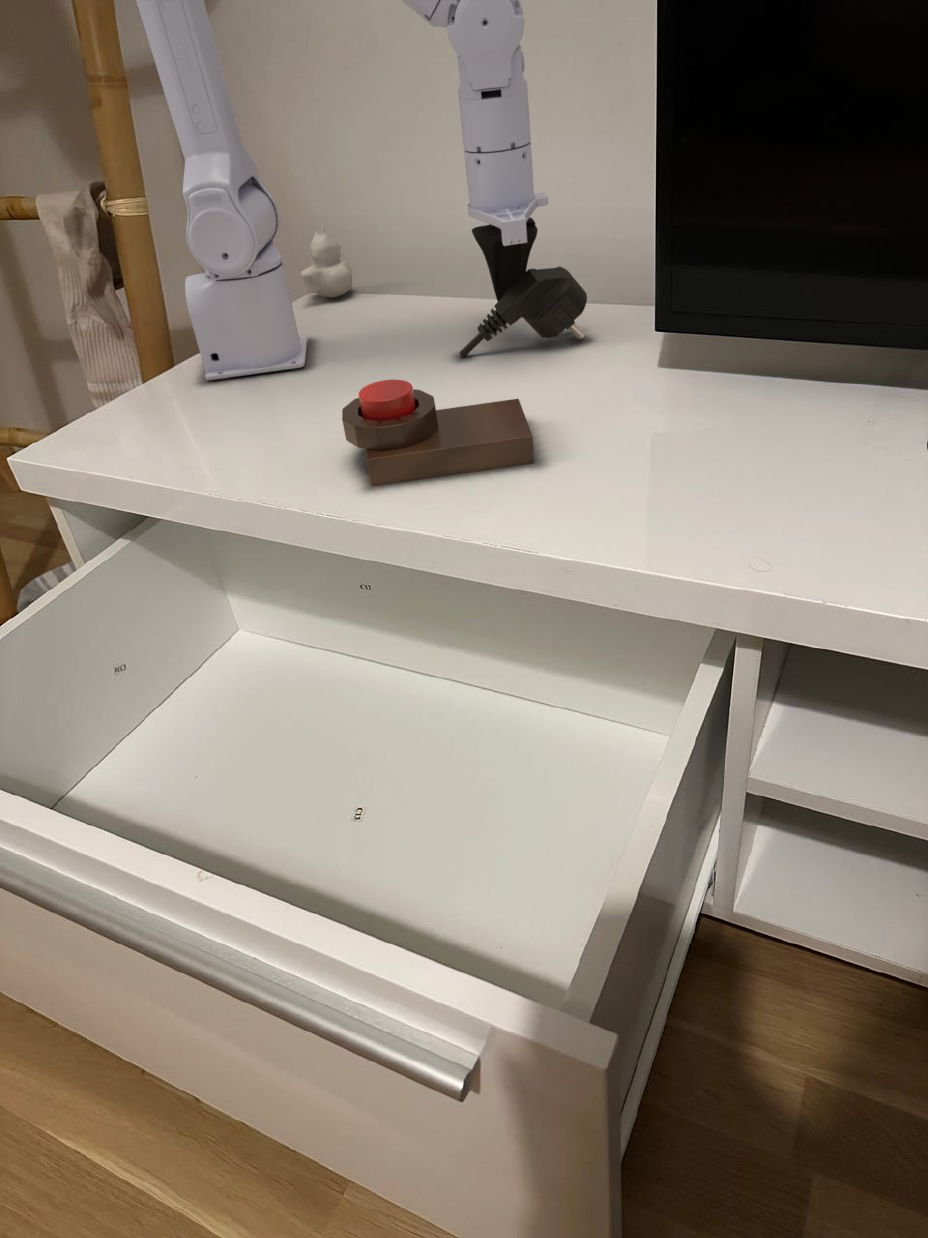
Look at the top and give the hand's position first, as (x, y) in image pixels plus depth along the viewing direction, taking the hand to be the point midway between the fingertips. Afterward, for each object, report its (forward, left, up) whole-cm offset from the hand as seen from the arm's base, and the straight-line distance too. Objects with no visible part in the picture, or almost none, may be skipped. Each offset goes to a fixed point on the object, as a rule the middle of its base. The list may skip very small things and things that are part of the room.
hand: (510, 305), depth 86 cm
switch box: (-8, -23, -3) cm, 24 cm away
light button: (-12, -22, 0) cm, 25 cm away
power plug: (+1, -2, -3) cm, 4 cm away
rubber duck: (-18, +22, -3) cm, 28 cm away
